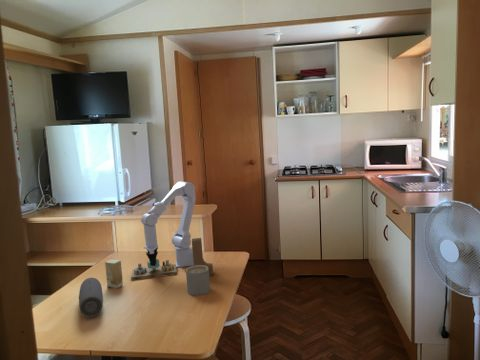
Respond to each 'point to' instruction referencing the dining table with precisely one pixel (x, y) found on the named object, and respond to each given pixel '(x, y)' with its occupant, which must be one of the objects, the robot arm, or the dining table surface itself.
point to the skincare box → (114, 273)
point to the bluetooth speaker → (90, 297)
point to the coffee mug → (198, 280)
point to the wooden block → (200, 255)
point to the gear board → (154, 271)
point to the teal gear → (153, 266)
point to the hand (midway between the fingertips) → (153, 263)
